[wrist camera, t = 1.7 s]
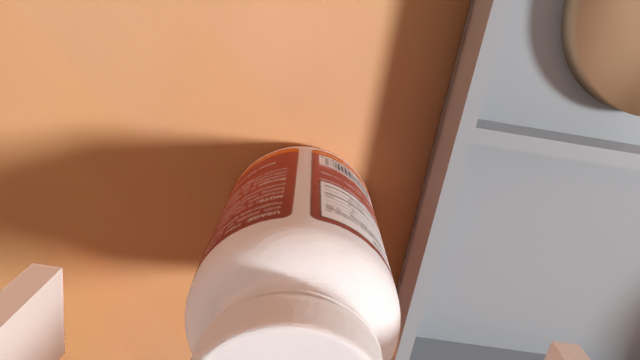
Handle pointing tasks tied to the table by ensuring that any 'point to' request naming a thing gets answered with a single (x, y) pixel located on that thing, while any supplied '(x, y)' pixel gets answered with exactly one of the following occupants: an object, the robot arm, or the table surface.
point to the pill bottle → (295, 268)
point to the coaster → (604, 49)
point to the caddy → (523, 205)
